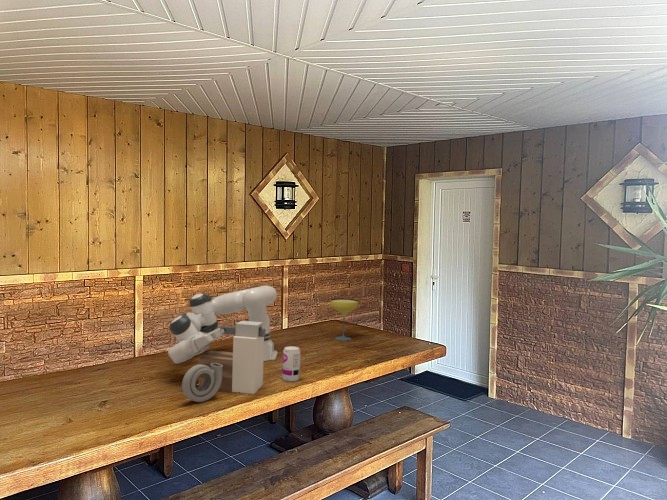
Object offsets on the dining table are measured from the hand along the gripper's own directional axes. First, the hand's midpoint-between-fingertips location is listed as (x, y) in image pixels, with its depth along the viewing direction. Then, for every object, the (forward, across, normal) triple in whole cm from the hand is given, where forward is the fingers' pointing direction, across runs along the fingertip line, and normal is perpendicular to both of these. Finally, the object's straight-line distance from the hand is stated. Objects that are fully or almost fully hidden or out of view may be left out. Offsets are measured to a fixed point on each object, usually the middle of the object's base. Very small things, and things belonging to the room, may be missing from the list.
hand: (226, 329), depth 225 cm
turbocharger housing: (-15, +19, -22) cm, 32 cm away
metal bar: (+6, 0, -6) cm, 8 cm away
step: (-15, 0, -22) cm, 26 cm away
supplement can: (+9, -18, -36) cm, 41 cm away
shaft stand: (-4, 0, -28) cm, 28 cm away
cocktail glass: (+19, -108, -41) cm, 117 cm away
